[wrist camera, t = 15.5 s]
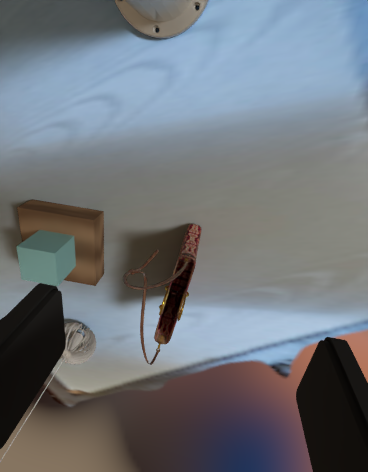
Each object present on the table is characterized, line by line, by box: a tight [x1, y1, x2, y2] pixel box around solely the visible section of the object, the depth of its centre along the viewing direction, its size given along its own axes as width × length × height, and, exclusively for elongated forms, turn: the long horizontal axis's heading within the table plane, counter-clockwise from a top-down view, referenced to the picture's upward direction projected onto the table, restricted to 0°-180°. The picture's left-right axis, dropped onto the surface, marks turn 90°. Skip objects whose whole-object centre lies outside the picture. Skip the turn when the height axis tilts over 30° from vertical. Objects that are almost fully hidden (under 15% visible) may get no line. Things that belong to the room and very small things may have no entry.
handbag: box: [123, 224, 201, 365], centre depth 39 cm, size 7×21×25 cm, turn 165°
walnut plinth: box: [17, 200, 104, 286], centre depth 51 cm, size 13×13×4 cm
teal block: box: [16, 230, 76, 286], centre depth 46 cm, size 6×6×6 cm
